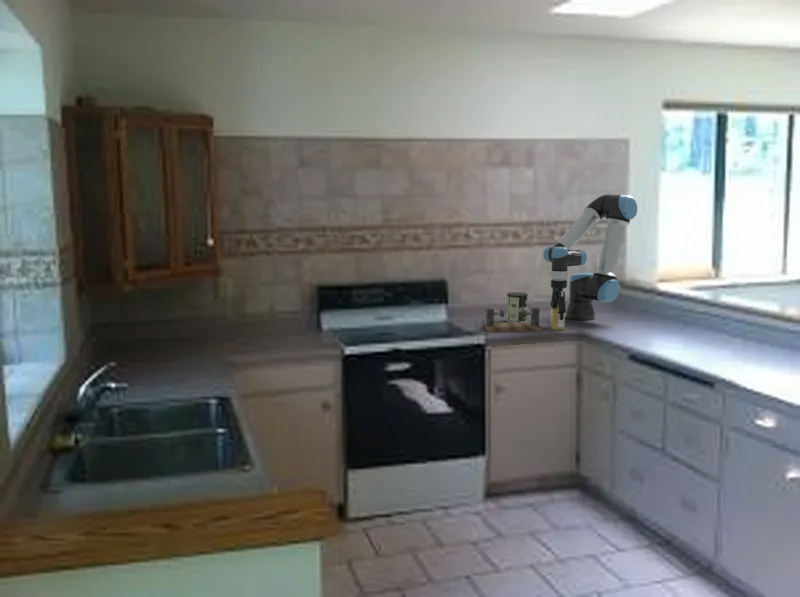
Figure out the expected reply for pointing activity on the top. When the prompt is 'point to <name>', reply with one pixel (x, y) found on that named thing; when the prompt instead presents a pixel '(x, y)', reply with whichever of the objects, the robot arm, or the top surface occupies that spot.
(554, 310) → the coupler
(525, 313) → the shaft stand
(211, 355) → the top surface
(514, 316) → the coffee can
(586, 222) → the robot arm
